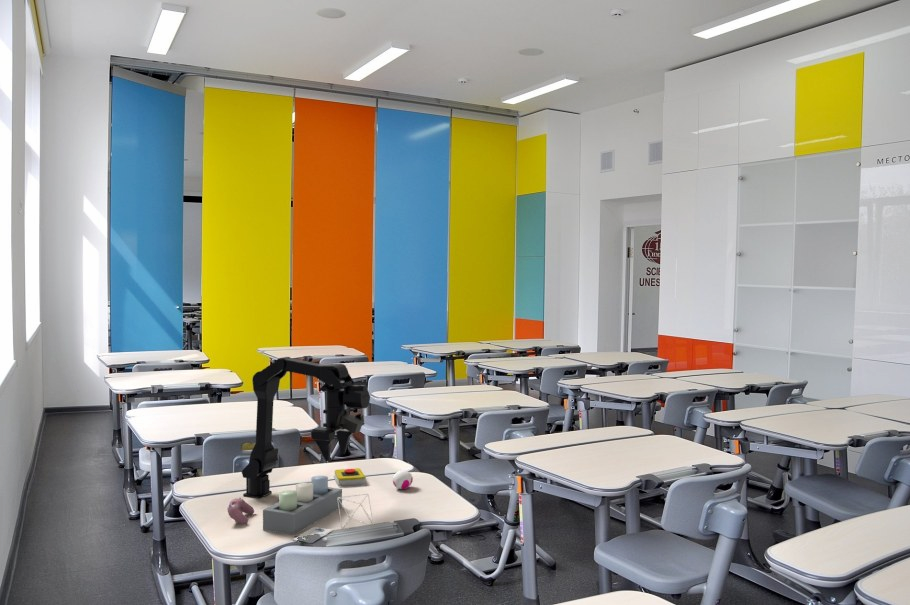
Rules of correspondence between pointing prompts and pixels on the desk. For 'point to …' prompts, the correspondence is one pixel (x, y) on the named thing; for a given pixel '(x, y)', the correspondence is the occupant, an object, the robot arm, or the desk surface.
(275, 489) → the desk surface
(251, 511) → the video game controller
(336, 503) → the grey compartment tray
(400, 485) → the stress ball
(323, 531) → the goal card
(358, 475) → the emergency button
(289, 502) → the sage button
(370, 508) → the geometric polyhedron
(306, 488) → the ivory button
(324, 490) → the slate-blue button
